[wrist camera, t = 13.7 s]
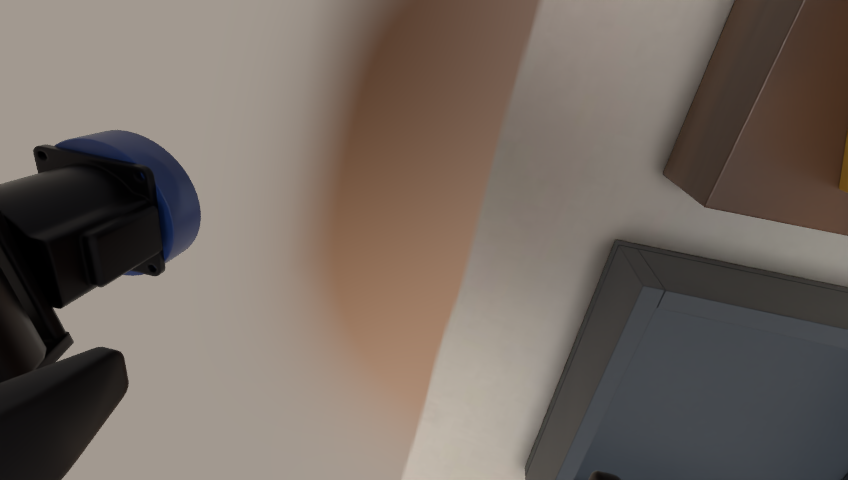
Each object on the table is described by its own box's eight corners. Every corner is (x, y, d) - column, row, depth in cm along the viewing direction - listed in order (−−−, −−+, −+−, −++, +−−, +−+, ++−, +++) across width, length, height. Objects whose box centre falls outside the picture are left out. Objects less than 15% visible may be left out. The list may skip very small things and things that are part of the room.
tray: (524, 468, 26) (528, 538, 22) (614, 238, 19) (643, 285, 15) (792, 535, 25) (843, 621, 21) (989, 316, 18) (1116, 387, 14)
